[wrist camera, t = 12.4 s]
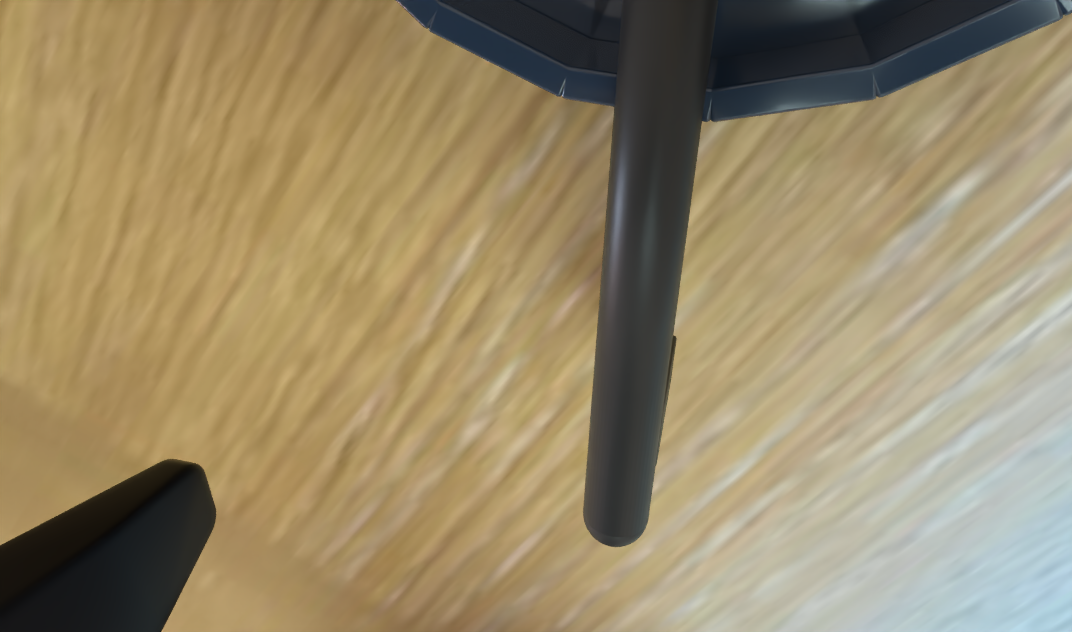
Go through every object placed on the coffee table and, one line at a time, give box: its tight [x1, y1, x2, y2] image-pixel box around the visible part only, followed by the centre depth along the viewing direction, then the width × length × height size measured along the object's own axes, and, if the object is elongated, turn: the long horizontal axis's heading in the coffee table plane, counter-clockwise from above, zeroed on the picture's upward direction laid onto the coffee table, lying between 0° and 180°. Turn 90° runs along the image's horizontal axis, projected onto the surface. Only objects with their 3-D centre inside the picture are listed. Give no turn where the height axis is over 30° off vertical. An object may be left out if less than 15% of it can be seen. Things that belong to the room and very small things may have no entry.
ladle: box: [583, 0, 718, 547], centre depth 12 cm, size 17×5×4 cm, turn 179°
